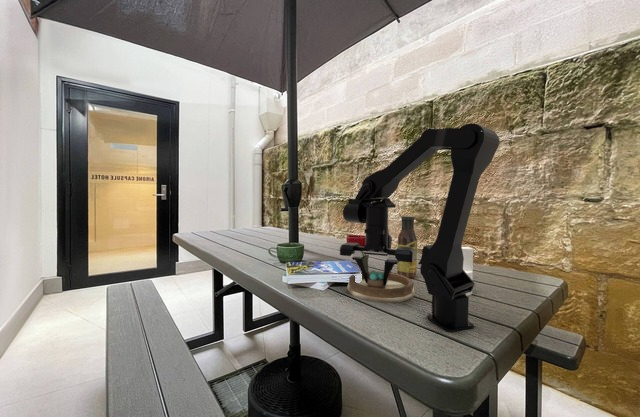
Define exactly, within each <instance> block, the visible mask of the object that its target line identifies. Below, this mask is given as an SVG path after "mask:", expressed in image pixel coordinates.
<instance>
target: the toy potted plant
mask: <svg viewBox="0 0 640 417" xmlns="http://www.w3.org/2000/svg"><path fill="white" fill-rule="evenodd" d="M377 272H379V273H378V274H377ZM382 272H383V271H377V270H372V271H371V273H370V277H368V285H367V287H374V288H385V286H384V281H383V280H384V273H382Z"/></svg>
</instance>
